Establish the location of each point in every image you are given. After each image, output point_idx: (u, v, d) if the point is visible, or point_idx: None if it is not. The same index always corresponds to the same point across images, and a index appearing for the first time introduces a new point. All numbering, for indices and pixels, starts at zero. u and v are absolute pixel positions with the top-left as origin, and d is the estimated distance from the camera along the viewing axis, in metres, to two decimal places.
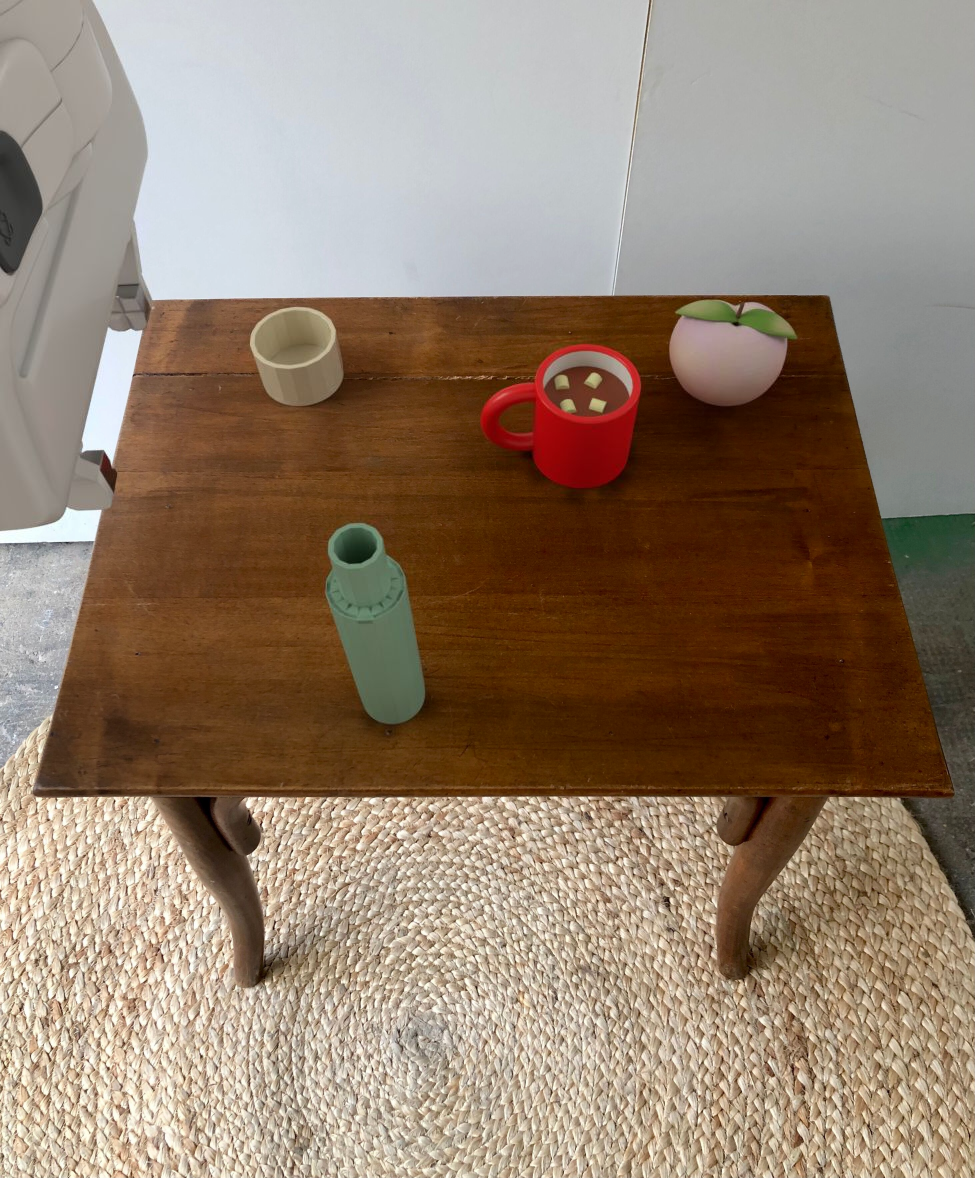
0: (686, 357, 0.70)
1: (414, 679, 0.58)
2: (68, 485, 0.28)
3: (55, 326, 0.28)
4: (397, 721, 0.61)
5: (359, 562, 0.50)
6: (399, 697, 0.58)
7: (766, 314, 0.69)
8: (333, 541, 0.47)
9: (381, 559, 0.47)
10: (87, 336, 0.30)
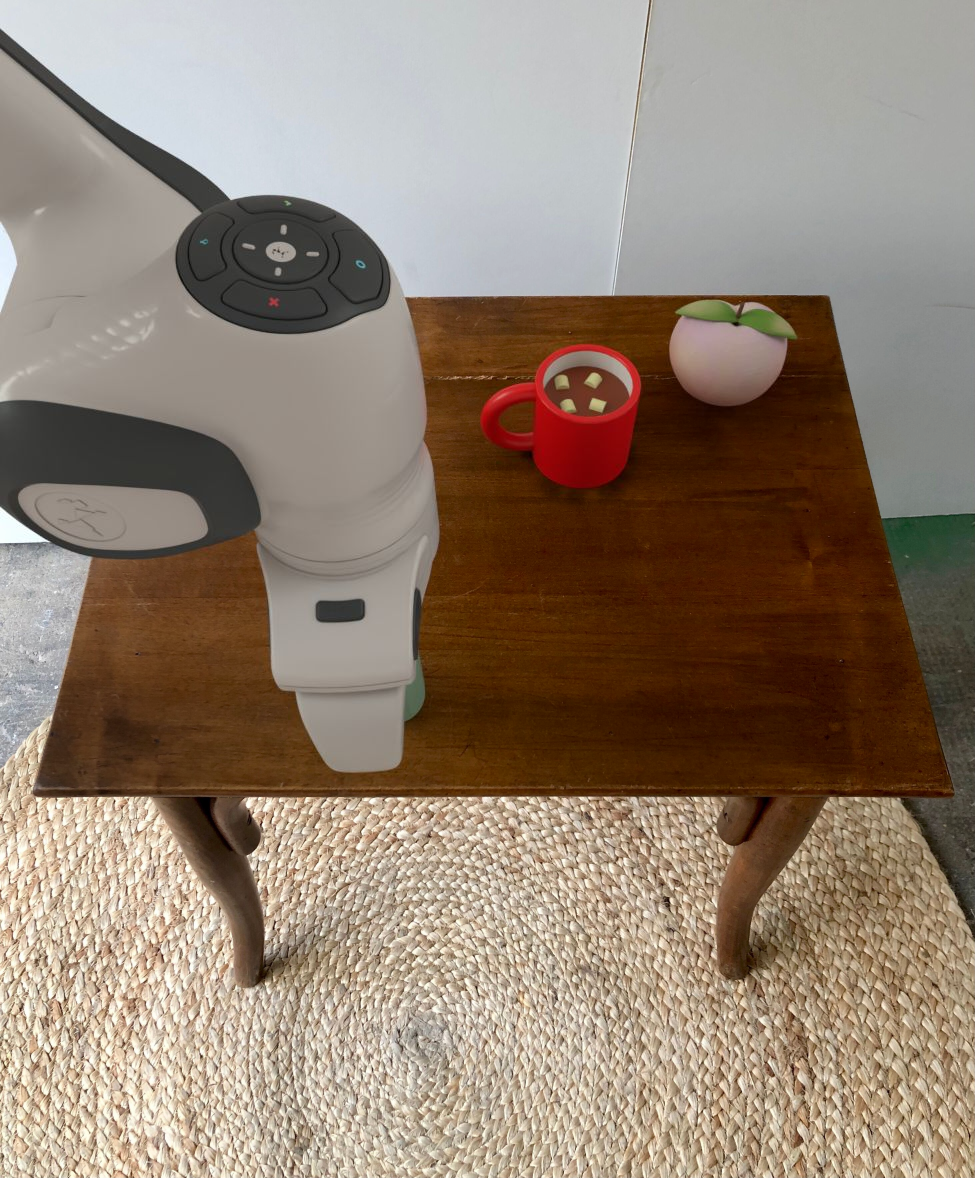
0: (686, 357, 0.70)
1: None
2: None
3: None
4: None
5: None
6: None
7: (766, 314, 0.69)
8: None
9: None
10: None
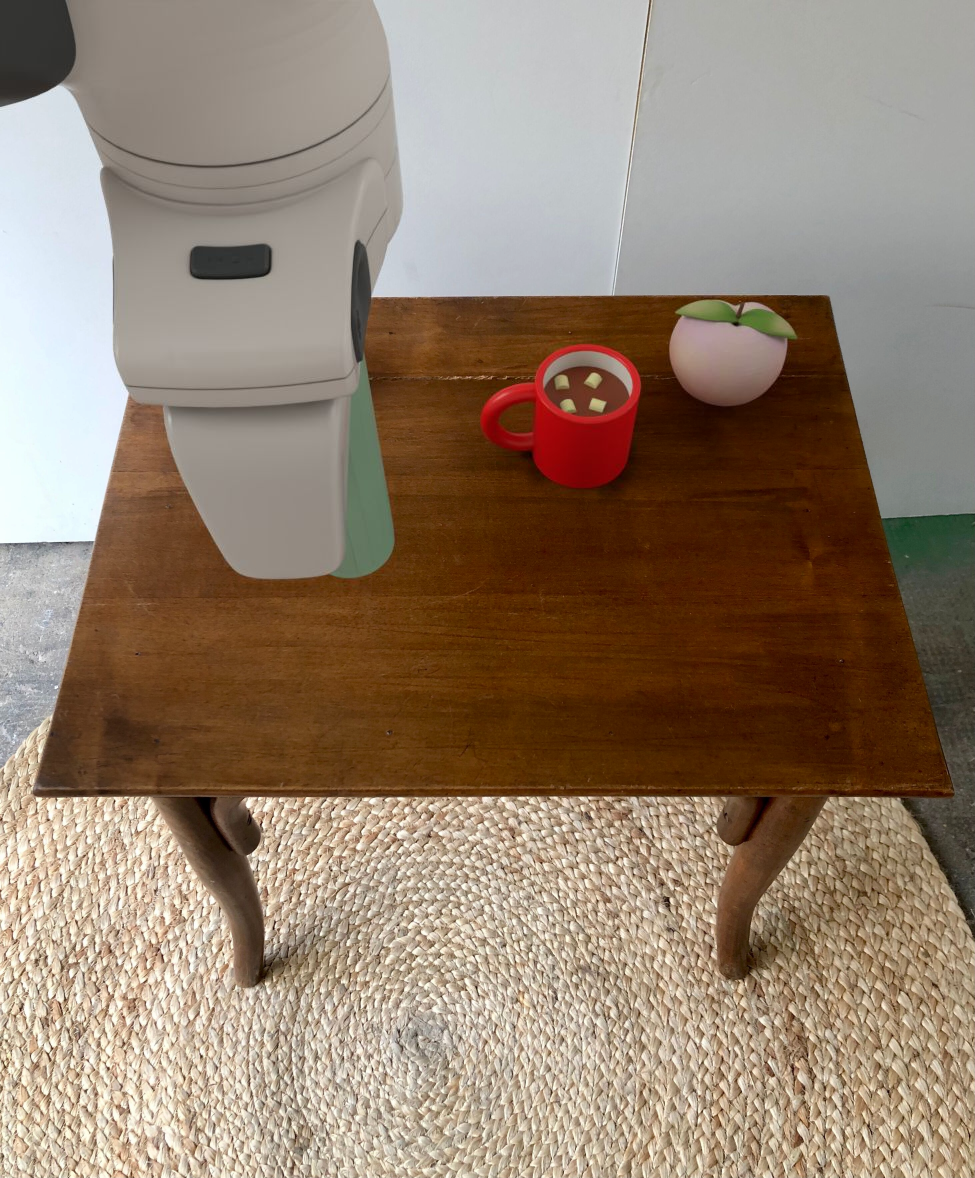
0: (686, 357, 0.70)
1: (377, 503, 0.42)
2: None
3: None
4: (355, 573, 0.45)
5: None
6: (356, 528, 0.42)
7: (766, 314, 0.69)
8: None
9: None
10: (347, 398, 0.33)
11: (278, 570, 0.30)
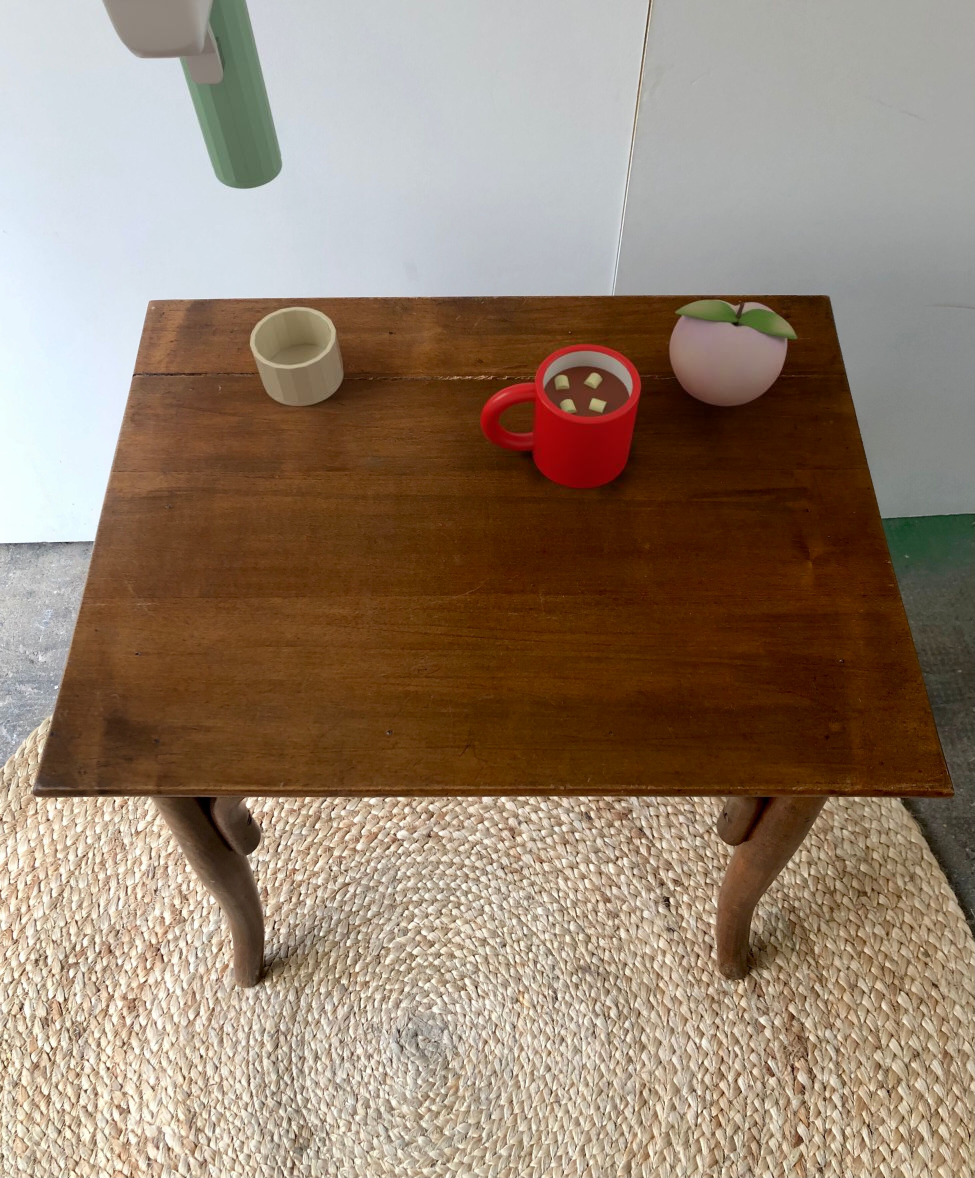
0: (686, 357, 0.70)
1: (258, 104, 0.54)
2: (204, 33, 0.44)
3: None
4: (248, 182, 0.58)
5: None
6: (242, 124, 0.54)
7: (766, 314, 0.69)
8: None
9: None
10: None
11: (152, 38, 0.42)
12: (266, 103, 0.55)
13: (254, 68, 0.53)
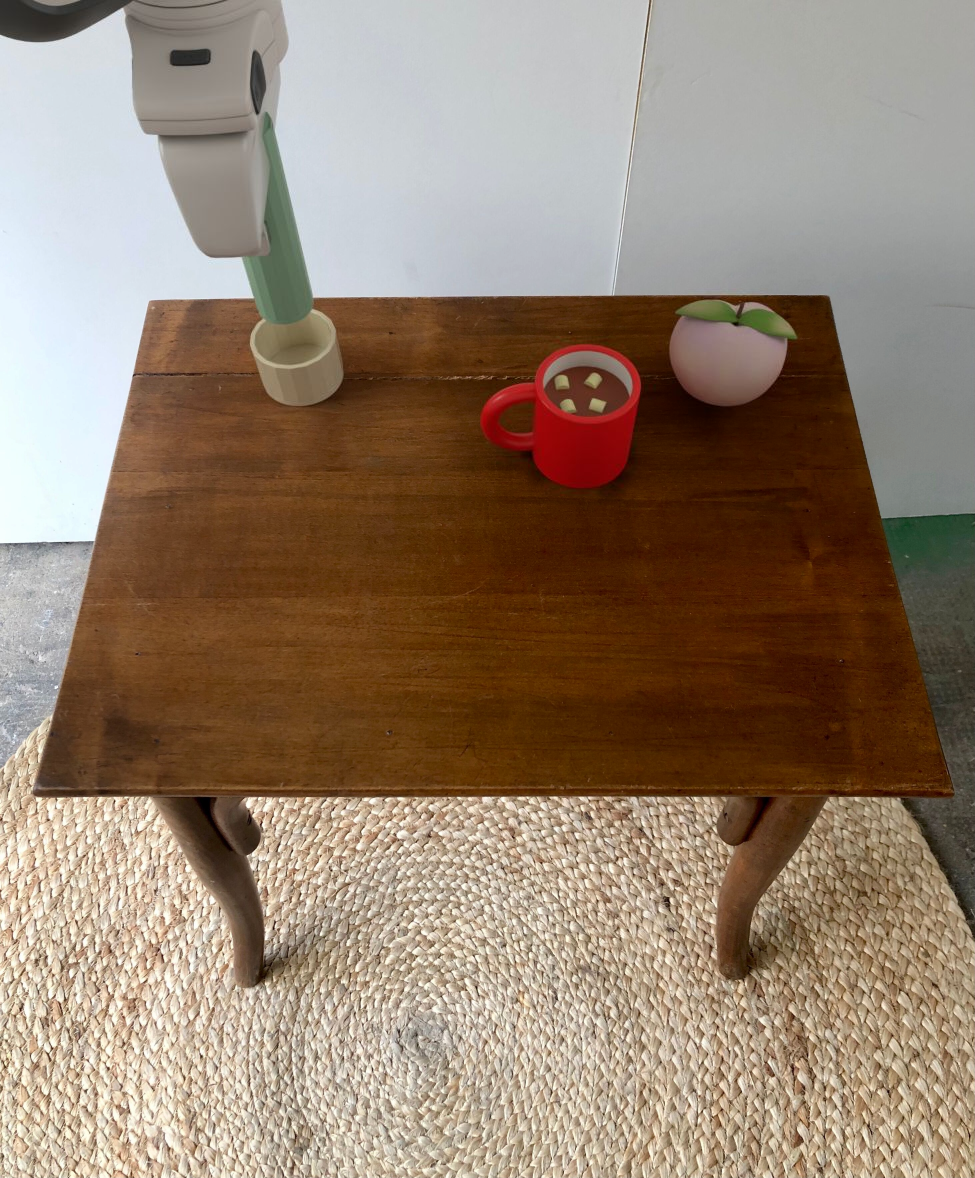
0: (686, 357, 0.70)
1: (296, 263, 0.67)
2: (261, 237, 0.56)
3: (256, 156, 0.56)
4: (286, 319, 0.70)
5: None
6: (283, 279, 0.67)
7: (766, 314, 0.69)
8: None
9: None
10: (265, 168, 0.58)
11: (222, 247, 0.55)
12: (302, 260, 0.67)
13: (293, 237, 0.65)
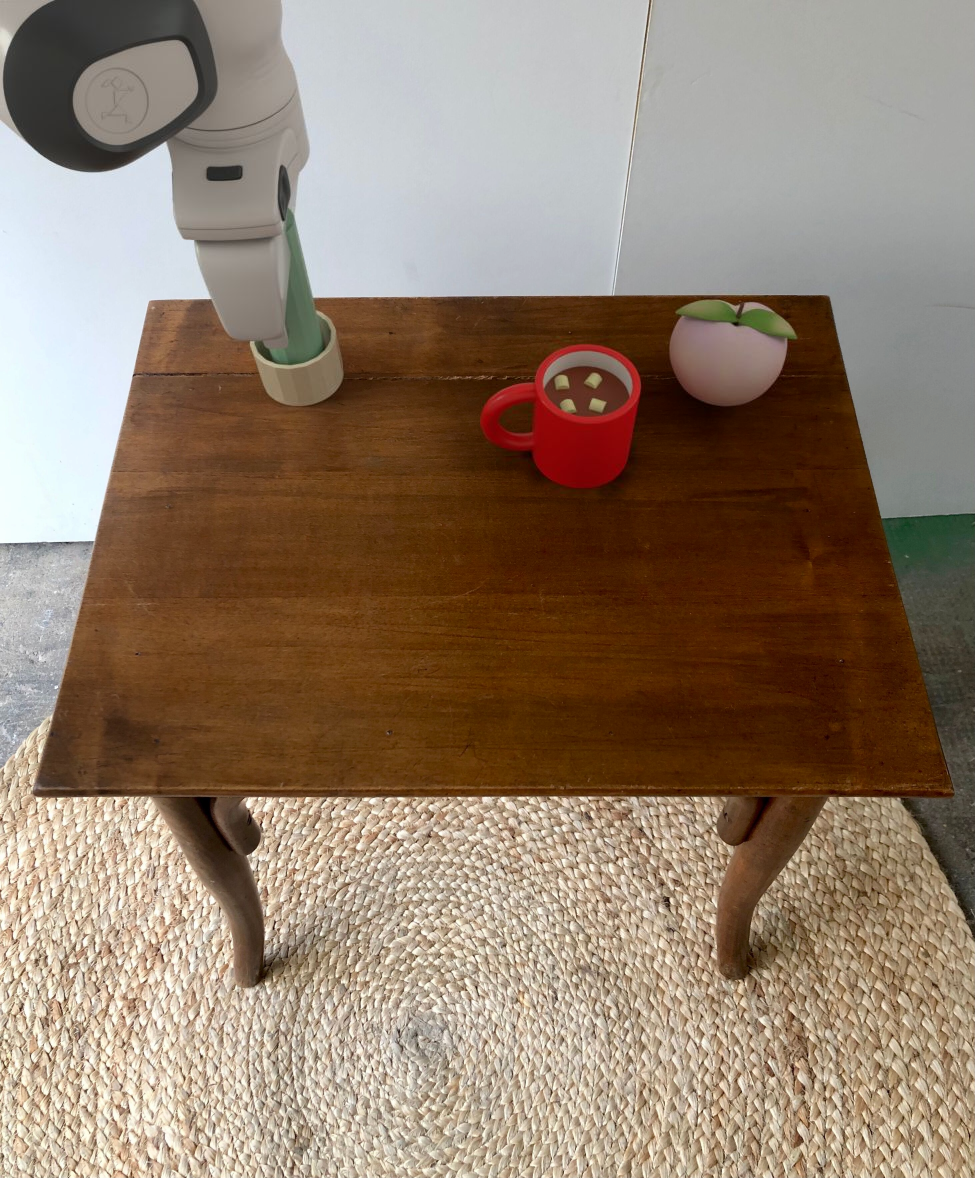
0: (686, 357, 0.70)
1: (313, 337, 0.73)
2: (284, 322, 0.62)
3: (279, 249, 0.62)
4: None
5: None
6: (301, 352, 0.73)
7: (766, 314, 0.69)
8: None
9: None
10: (287, 257, 0.64)
11: (249, 333, 0.61)
12: (319, 333, 0.74)
13: (312, 315, 0.71)
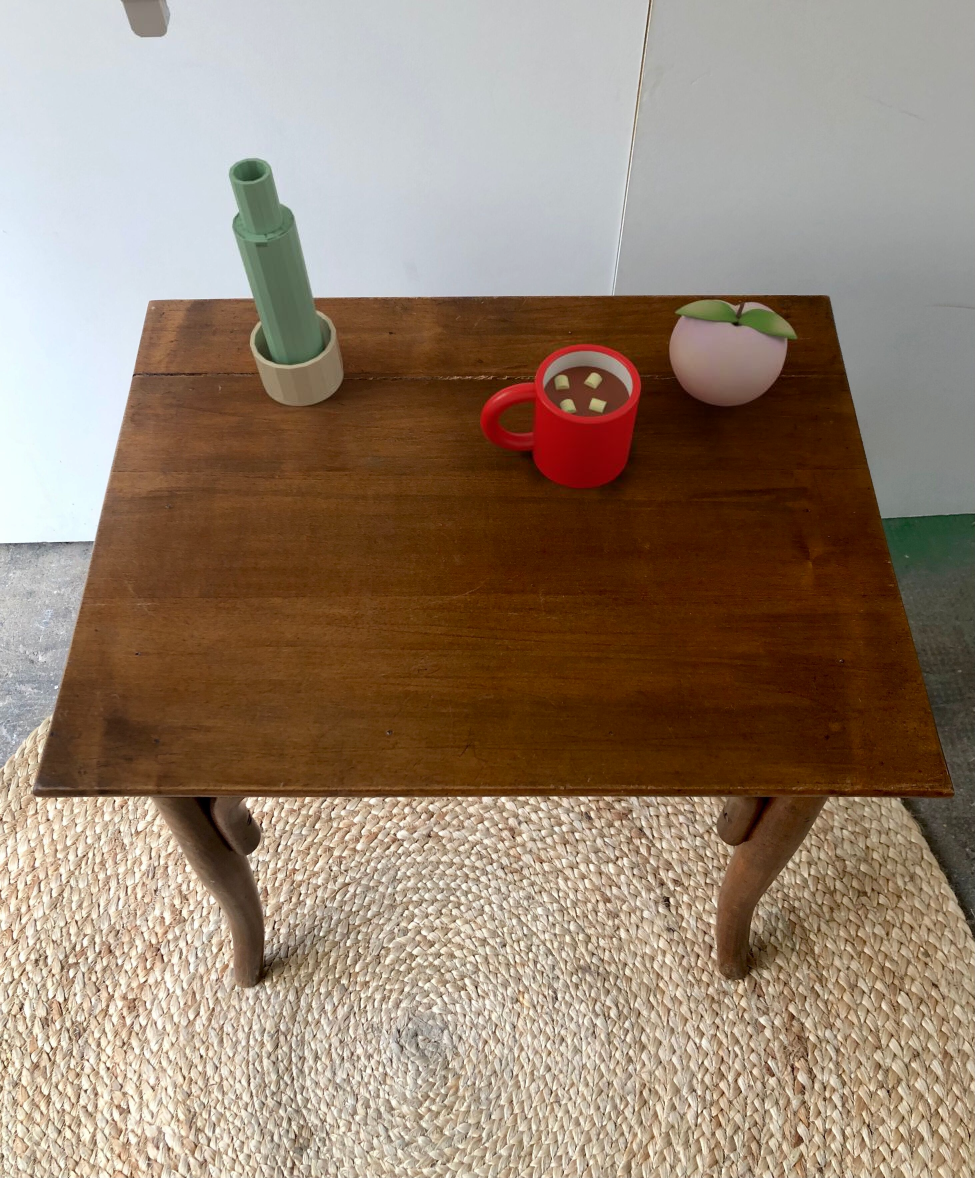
0: (686, 357, 0.70)
1: (313, 337, 0.73)
2: None
3: None
4: None
5: None
6: (301, 352, 0.73)
7: (766, 314, 0.69)
8: (233, 168, 0.61)
9: (269, 182, 0.61)
10: None
11: None
12: (319, 333, 0.74)
13: (312, 315, 0.71)
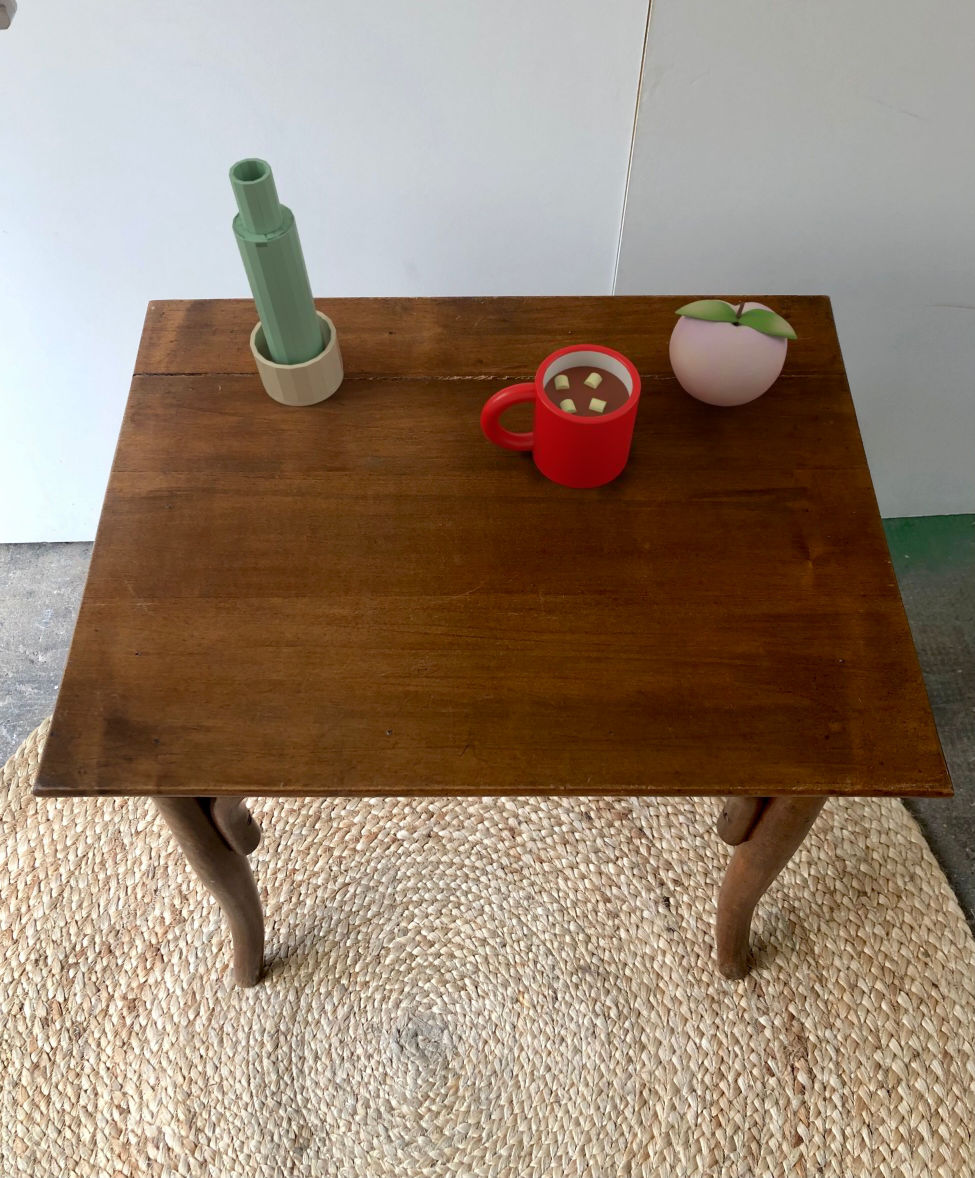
0: (686, 357, 0.70)
1: (313, 337, 0.73)
2: None
3: None
4: None
5: None
6: (301, 352, 0.73)
7: (766, 314, 0.69)
8: (233, 168, 0.61)
9: (269, 182, 0.61)
10: None
11: None
12: (319, 333, 0.74)
13: (312, 315, 0.71)
